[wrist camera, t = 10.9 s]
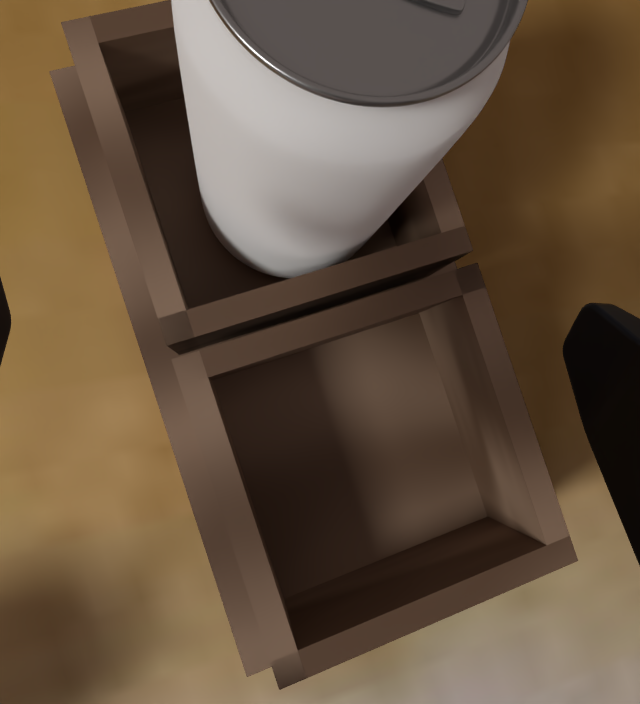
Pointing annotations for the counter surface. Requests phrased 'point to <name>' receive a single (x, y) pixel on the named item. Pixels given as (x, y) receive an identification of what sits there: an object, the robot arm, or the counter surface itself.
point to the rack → (312, 386)
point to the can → (327, 113)
